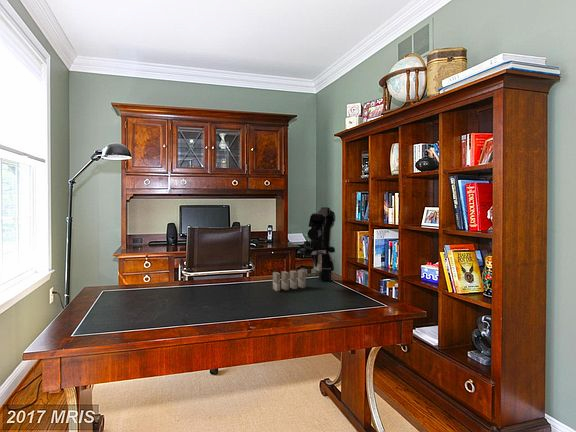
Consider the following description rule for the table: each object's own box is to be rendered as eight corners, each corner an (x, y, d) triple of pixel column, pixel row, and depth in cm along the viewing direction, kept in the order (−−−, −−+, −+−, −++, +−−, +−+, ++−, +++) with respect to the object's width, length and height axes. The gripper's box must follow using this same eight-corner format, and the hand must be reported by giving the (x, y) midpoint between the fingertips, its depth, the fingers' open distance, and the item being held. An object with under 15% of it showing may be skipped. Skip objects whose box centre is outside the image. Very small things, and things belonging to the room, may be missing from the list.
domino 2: (284, 287, 206) (284, 271, 206) (288, 289, 202) (288, 272, 202) (281, 288, 205) (281, 271, 205) (285, 290, 201) (285, 273, 201)
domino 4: (301, 285, 211) (301, 269, 210) (305, 287, 207) (305, 271, 206) (297, 286, 210) (297, 269, 209) (302, 288, 206) (302, 271, 205)
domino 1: (276, 288, 204) (276, 272, 204) (280, 290, 200) (280, 273, 199) (272, 289, 203) (272, 272, 203) (276, 291, 199) (276, 274, 198)
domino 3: (293, 286, 209) (293, 270, 208) (297, 288, 204) (297, 272, 204) (289, 287, 208) (289, 270, 207) (293, 289, 203) (293, 272, 203)
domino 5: (316, 269, 207) (316, 252, 207) (321, 271, 203) (321, 254, 203) (313, 269, 207) (313, 253, 206) (318, 271, 202) (318, 254, 202)
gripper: (324, 234, 215) (324, 262, 216) (294, 236, 206) (294, 265, 208) (335, 236, 205) (335, 265, 206) (305, 239, 197) (305, 269, 198)
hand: (317, 266), depth 205 cm, fingers closed on domino 5, 2 cm apart
